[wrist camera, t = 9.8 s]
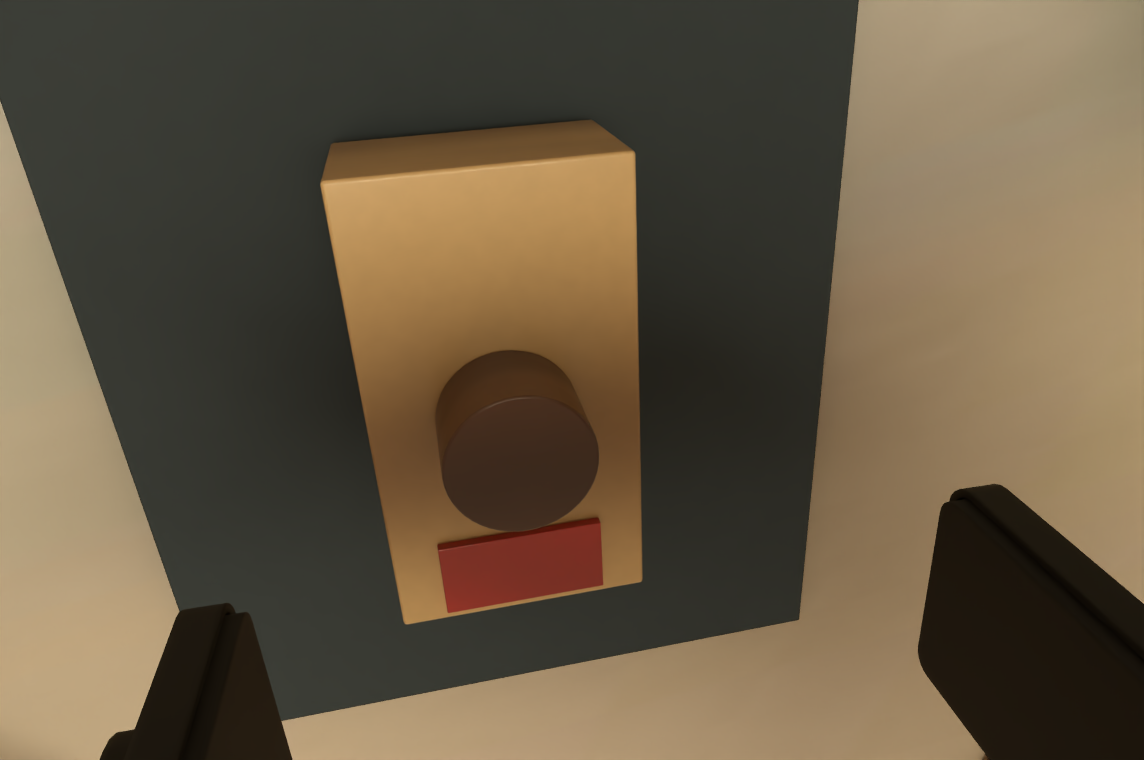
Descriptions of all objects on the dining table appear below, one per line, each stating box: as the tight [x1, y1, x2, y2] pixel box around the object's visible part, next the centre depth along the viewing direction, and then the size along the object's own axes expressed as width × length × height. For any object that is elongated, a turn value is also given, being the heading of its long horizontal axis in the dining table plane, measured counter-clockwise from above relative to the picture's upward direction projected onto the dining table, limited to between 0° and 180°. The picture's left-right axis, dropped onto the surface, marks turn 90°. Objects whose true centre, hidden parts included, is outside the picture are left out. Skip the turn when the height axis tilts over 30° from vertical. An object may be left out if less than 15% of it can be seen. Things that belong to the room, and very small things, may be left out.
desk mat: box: [0, 0, 859, 721], centre depth 18 cm, size 20×16×1 cm
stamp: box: [320, 120, 642, 624], centre depth 16 cm, size 9×5×5 cm, turn 3°
